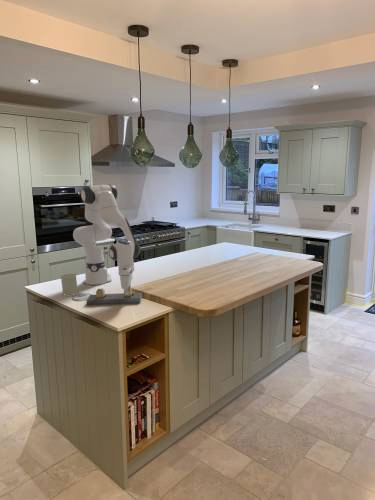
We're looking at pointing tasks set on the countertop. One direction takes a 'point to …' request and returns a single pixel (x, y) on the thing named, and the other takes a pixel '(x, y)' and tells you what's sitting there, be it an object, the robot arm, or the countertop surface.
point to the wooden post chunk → (128, 293)
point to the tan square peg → (100, 293)
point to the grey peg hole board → (114, 299)
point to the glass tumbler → (69, 284)
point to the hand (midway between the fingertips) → (128, 291)
